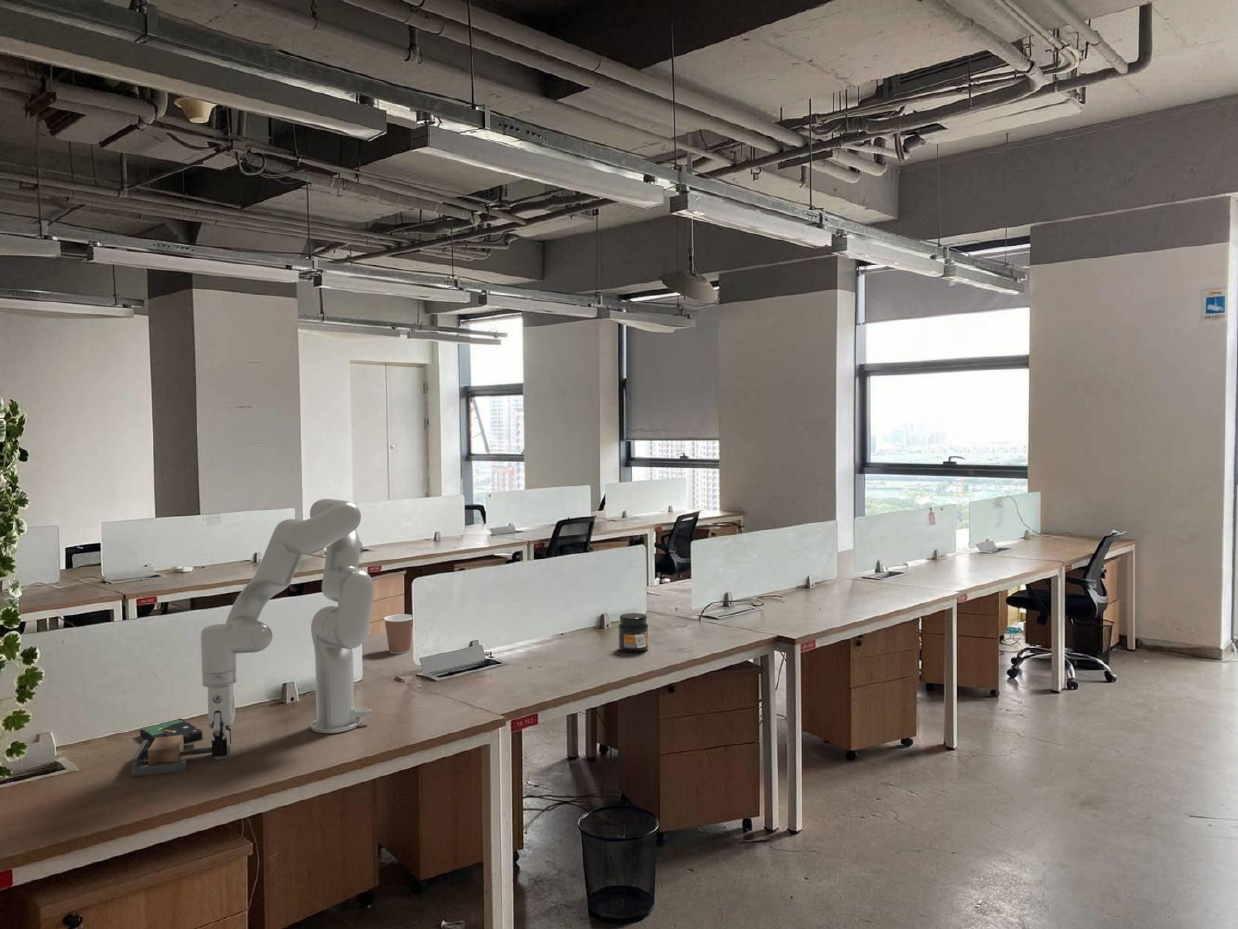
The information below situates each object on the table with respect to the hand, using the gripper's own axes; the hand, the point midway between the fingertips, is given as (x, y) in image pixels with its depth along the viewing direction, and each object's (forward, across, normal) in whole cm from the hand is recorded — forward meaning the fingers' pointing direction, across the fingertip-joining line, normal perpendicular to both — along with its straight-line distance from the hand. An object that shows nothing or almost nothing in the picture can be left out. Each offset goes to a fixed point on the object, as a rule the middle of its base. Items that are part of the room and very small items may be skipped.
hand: (221, 750), depth 211 cm
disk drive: (+2, +19, +14) cm, 24 cm away
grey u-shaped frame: (+2, 0, +13) cm, 13 cm away
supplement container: (+2, +62, -125) cm, 140 cm away
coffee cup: (+2, +88, -47) cm, 100 cm away
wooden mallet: (+2, 0, +7) cm, 7 cm away
